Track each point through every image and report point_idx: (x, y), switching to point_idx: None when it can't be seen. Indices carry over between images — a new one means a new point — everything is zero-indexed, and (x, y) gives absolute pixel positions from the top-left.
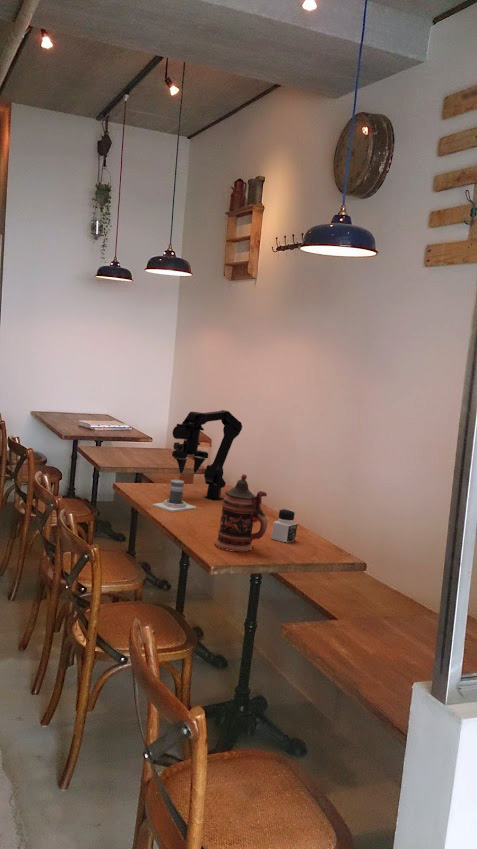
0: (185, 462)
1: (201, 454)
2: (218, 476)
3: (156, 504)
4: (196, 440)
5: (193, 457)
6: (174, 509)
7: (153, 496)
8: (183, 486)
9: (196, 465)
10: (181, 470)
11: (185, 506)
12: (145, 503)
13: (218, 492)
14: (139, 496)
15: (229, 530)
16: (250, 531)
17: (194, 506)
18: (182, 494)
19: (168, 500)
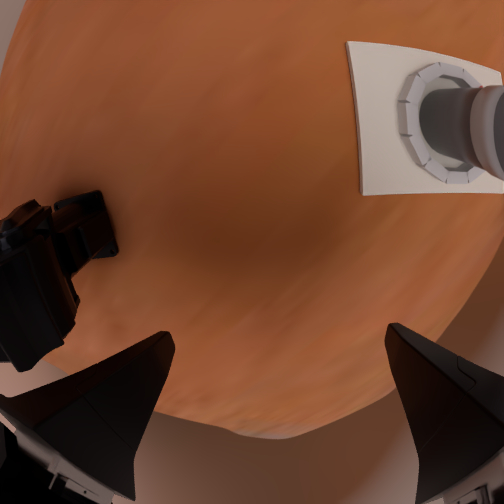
0: (486, 397)
1: (32, 488)
2: (3, 235)
3: (497, 179)
4: None
5: (133, 493)
6: (486, 74)
7: (370, 323)
8: (502, 94)
9: (135, 396)
10: (418, 340)
11: (421, 68)
12: (490, 233)
13: (57, 211)
14: (420, 330)
15: None
16: None
17: (355, 56)
18: (470, 90)
19: (460, 171)
